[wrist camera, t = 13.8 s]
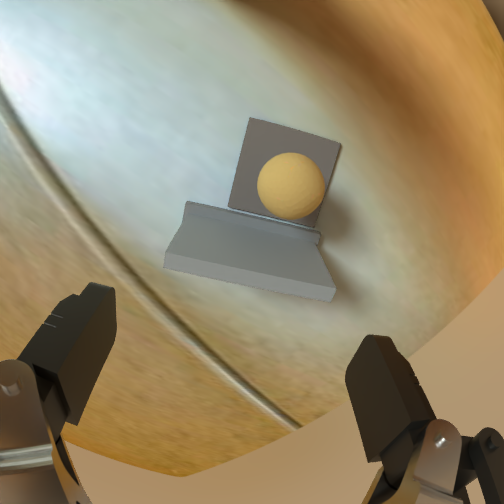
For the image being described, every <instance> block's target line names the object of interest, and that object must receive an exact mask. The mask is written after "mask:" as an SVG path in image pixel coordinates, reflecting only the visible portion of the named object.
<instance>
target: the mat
mask: <svg viewBox="0 0 504 504" xmlns="http://www.w3.org/2000/svg"><path fill="white" fill-rule="evenodd" d="M340 144H341V143H338V142H335V141H332V140H329V139H326V138H322V137H319V136H316V135H313V134H310V133H306V132H303V131H300V130H296V129H293V128H289V127H285V126H282V125H278V124H274V123H271V122H267V121H263V120H259V119H255V118H249V122H248V126H247V130H246V134H245V138H244V141H243V145H242V149H241V153H240V157H239V161H238V165H237V169H236V174H235V178H234V182H233V186H232V190H231V194H230V199H229V203H228V207H231V208H236V209H240V210H244V211H249V212H253V213H257V214H261V215H266V216H270V217H274V218H278V219H282V218H279V217H277V216H275V215H274V214H272V213H271V212H270V211H269V210H268V209H267V208H266V207H265V206H264V205H263V203H262V202H261V199H260V197H259V195H258V190H257V181H258V177H259V174H260V171H261V170H262V168H263V166H264V165H265V164H266V163H267V162H268V161H269V160H270V159H272V158H273V157H275V156H277V155H280V154H283V153H298V154H302V155H304V156H306V157H308V158H310V159H311V160H312V161H313V162H314V163H315V164H316V165H317V166H318V167H319V169H320V171H321V173H322V175H323V178H324V183H325V192H324V196H325V193H326V189H327V186H328V183H329V180H330V177H331V174H332V170H333V167H334V164H335V161H336V157H337V154H338V151H339V147H340ZM324 196H323V199H324ZM323 199H322V201H321V203H320V204H319V206H318V207H317V208H316V209H315V210H314V211H313V212H311V213H310V214H309V215H307V216H305V217H303V218H299V219H295V220H287V219H282V220H286V221H290V222H294V223H298V224H302V225H306V226H310V227H314V226H315V223H316V220H317V217H318V214H319V211H320V208H321V205H322V202H323Z"/></svg>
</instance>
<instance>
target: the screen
mask: <svg viewBox="0 0 504 504" xmlns="http://www.w3.org/2000/svg"><path fill="white" fill-rule="evenodd" d="M320 236H321V234H320V232H318V231H314V230H310V229H306V228H302V227H298V226H294V225H290V224H286V223H282V222H278V221H274V220H270V219H265V218H261V217H257V216H253V215H248V214H244V213H240V212H235V211H231V210H227V209H222V208H218V207H213V206H209V205H204V204H199V203H195V202H190V201H187V202H186V204H185V209H184V215H183V221H182V224H181V226H180V227H179V229H178V231H177V233H176V234H175V236H174V238H173V240H172V241H171V243H170V245H169V247H168V248H167V250H166V252H165V259H164V267H163V268H167V269H171V270H175V271H180V272H184V273H189V274H193V275H197V276H202V277H207V278H211V279H216V280H220V281H225V282H230V283H234V284H239V285H244V286H249V287H254V288H258V289H263V290H268V291H273V292H278V293H283V294H288V295H294V296H299V297H304V298H309V299H315V300H320V301H325V302H331V301H332V298H333V296H334V294H335V292H336V289H337V288H336V286H335V284H334V282H333V280H332V278H331V275H330V273H329V271H328V269H327V267H326V265H325V263H324V261H323V259H322V257H321V255H320V253H319V251H318V249H317V245H318V242H319V239H320Z"/></svg>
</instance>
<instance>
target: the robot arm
mask: <svg viewBox="0 0 504 504" xmlns="http://www.w3.org/2000/svg"><path fill="white" fill-rule="evenodd" d="M116 330H117V323H116V298H115V289H114V288H113V287H109V286H105V285H101V284H97V283H93V282H90V283H89V284H88V285H87V286H86V288H85V289H84V290H83V292H82V293H81V294H80V295H79V296H78V295H75V294H72V295H70V296H69V297H67V298H65V299H64V300H62V301H60V302H59V303H58V305H57V306H56V307H55V308H54V310H53V311H52V312H51V315H49V316H48V317H47V319H46V320H45V321H44V324H42V325H41V326H40V328H39V329H38V330H37V332H36V333H35V335H34V336H33V337H32V339H31V340H30V341H29V343H28V344H27V346H26V347H25V348H24V350H23V351H22V353H21V354H20V356H19V357H18V358H17V359H16V360H14V359H9V360H4V361H1V362H0V504H92V502H91V501H90V499H89V497H88V496H87V494H86V492H85V490H84V489H83V487H82V485H81V482H80V480H79V477H78V476H77V473H76V470H75V468H74V465H73V463H72V460H71V458H70V455H69V452H68V450H67V447H66V444H65V441H64V438H63V435H62V433H61V431H62V428H63V426H64V424H65V421H66V422H68V423H71V424H74V425H76V426H77V425H78V423H79V420H80V418H81V416H82V413H83V411H84V408H85V406H86V404H87V401H88V399H89V397H90V394H91V392H92V390H93V387H94V385H95V383H96V381H97V378H98V376H99V374H100V372H101V370H102V367H103V365H104V363H105V361H106V359H107V357H108V355H109V353H110V350H111V348H112V346H113V344H114V341H115V337H116ZM345 383H346V387H347V390H348V393H349V397H350V400H351V403H352V407H353V410H354V414H355V417H356V421H357V424H358V428H359V431H360V435H361V439H362V442H363V446H364V450H365V453H366V457H367V461H368V463H370V462H378V461H382V464H383V466H382V467H381V468H380V469H379V470H378V472H377V474H376V476H375V478H374V480H373V482H372V484H371V486H370V488H369V490H368V492H367V494H366V496H365V498H364V500H363V502H362V504H470V500H469V497H468V494H467V490H466V487H465V486H466V485H468V484H469V483H471V482H472V481H473V480H475V479H476V478H477V477H478V480H479V483H480V486H481V489H482V493H483V496H484V499H485V502H486V504H504V439H503V438H502V436H501V435H500V434H499V432H497V431H496V430H495V429H493V428H489V427H487V428H484V429H482V430H481V431H480V432H479V433H478V434H477V435H476V436H475V437H468V436H461V435H460V433H459V432H458V430H457V428H456V427H455V426H454V425H453V424H451V423H450V422H448V421H446V420H443V419H437V418H436V416H435V414H434V412H433V410H432V408H431V406H430V404H429V401H428V399H427V397H426V395H425V393H424V391H423V389H422V387H421V386H419V381H418V379H417V377H416V376H415V373H414V371H413V369H412V367H411V365H410V363H409V362H408V361H407V360H406V359H405V358H404V357H403V356H402V355H401V353H400V352H398V351H397V349H396V347H395V345H394V343H393V341H392V339H391V338H390V337H388V336H380V335H367V336H366V337H365V338H364V339H363V341H362V343H361V345H360V346H359V348H358V350H357V352H356V353H355V355H354V357H353V358H352V360H351V362H350V363H349V365H348V367H347V370H346V374H345Z"/></svg>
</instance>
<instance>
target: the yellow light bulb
mask: <svg viewBox="0 0 504 504" xmlns="http://www.w3.org/2000/svg"><path fill="white" fill-rule="evenodd" d="M257 190H258V195H259V197H260V199H261V202H262V203H263V205H264V206H265V207H266V208H267V209H268V210H269V211H270V212H271V213H272V214H274V215H275V216H277V217H279V218H282V219H287V220H295V219H299V218H303V217H305V216H307V215H309V214H310V213H311V212H313V211H314V210H315V209H316V208H317V207H318V206H319V204H320V203H321V201H322V199H323V196H324V192H325V183H324V178H323V175H322V173H321V171H320V169H319V167H318V166H317V165H316V164H315V163H314V162H313V161H312V160H311V159H310V158H308V157H306V156H304V155H302V154H298V153H283V154H280V155H277V156H275V157H273V158H272V159H270V160H269V161H268V162H267V163H266V164H265V165H264V166H263V168H262V170H261V171H260V174H259V177H258V181H257Z"/></svg>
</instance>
